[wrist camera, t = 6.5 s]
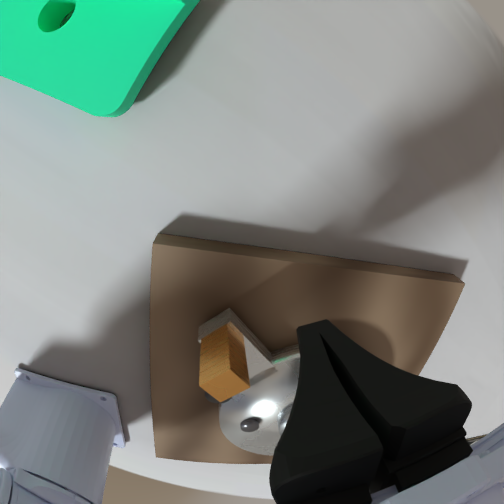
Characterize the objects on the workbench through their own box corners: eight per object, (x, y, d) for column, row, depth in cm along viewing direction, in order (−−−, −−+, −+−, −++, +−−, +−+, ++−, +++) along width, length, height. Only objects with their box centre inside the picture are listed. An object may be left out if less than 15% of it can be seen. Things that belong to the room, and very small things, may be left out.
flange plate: (389, 393, 21) (414, 437, 16) (273, 453, 22) (281, 499, 18) (302, 255, 15) (334, 306, 11) (141, 357, 17) (127, 419, 12)
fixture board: (157, 444, 23) (155, 457, 22) (158, 233, 16) (152, 243, 14) (357, 443, 26) (362, 454, 25) (453, 274, 19) (465, 283, 18)
